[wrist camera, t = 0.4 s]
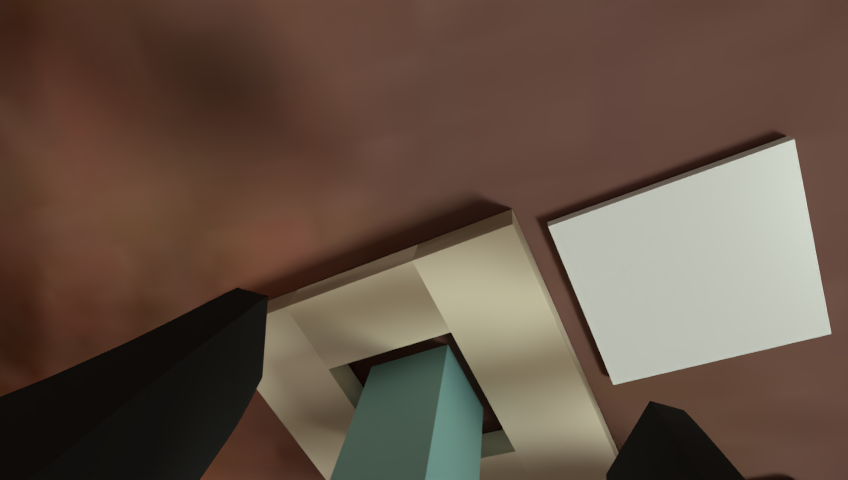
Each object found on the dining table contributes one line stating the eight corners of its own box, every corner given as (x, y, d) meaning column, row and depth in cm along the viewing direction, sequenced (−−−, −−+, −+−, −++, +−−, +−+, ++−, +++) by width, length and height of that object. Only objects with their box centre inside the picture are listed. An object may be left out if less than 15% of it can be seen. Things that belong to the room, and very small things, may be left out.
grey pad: (824, 327, 18) (831, 334, 18) (611, 378, 21) (613, 384, 20) (787, 136, 15) (794, 139, 15) (547, 222, 18) (548, 226, 17)
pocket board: (621, 460, 23) (628, 487, 21) (371, 506, 27) (364, 530, 26) (512, 208, 18) (512, 223, 17) (230, 314, 22) (213, 333, 21)
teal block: (483, 408, 22) (474, 561, 16) (409, 426, 24) (375, 574, 18) (447, 344, 21) (424, 485, 15) (371, 366, 22) (320, 505, 16)
